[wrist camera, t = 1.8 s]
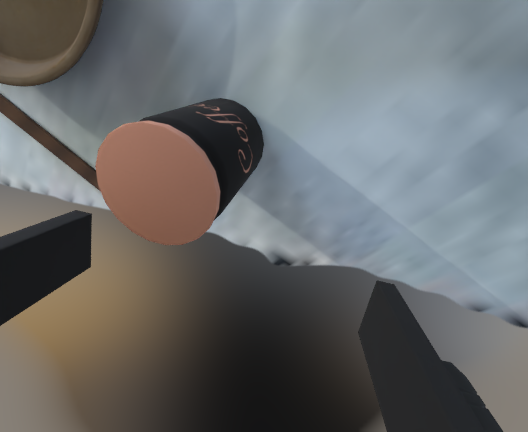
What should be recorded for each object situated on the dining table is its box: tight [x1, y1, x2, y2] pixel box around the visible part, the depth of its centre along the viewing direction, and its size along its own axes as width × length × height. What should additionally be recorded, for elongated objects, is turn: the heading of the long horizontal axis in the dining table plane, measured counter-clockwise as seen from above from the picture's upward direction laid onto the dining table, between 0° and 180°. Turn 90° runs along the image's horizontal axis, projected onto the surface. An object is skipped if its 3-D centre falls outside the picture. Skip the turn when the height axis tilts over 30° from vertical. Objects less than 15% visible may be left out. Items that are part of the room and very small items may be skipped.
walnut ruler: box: [0, 94, 100, 190], centre depth 44 cm, size 30×2×1 cm, turn 50°
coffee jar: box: [95, 98, 264, 245], centre depth 31 cm, size 11×11×18 cm
